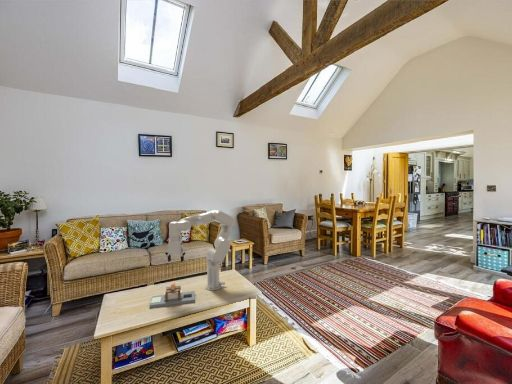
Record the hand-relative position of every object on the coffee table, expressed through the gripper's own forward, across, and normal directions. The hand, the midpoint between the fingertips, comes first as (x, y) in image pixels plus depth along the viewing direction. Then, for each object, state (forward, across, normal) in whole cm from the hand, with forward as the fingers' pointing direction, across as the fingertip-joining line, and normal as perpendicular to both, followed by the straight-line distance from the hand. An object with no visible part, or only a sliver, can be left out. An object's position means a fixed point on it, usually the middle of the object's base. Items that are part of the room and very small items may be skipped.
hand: (175, 261), depth 181 cm
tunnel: (+25, +1, +5) cm, 26 cm away
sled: (+25, +1, +5) cm, 25 cm away
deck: (+27, +1, +5) cm, 28 cm away
